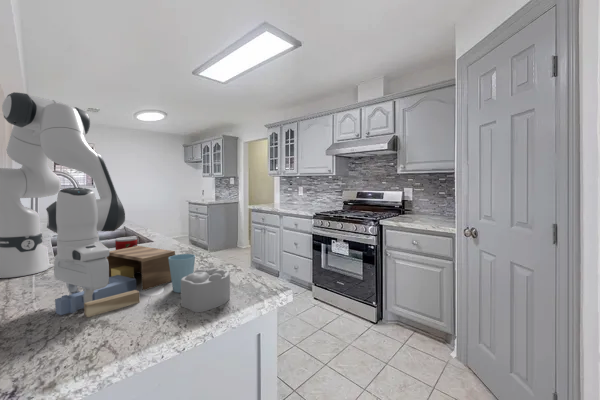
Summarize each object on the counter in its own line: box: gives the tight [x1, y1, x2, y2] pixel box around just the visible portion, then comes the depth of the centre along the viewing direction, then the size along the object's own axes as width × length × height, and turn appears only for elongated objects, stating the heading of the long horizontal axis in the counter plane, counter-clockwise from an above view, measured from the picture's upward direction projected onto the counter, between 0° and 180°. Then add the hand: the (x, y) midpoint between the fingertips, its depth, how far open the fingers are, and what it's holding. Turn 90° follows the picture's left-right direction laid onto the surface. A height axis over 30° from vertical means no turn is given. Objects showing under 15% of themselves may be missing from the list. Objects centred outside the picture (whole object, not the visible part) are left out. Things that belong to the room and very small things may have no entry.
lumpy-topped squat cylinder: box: [180, 267, 231, 313], centre depth 80 cm, size 10×13×9 cm
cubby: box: [106, 245, 176, 291], centre depth 98 cm, size 20×12×10 cm, turn 62°
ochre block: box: [111, 265, 135, 279], centre depth 98 cm, size 6×4×4 cm
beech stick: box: [83, 289, 140, 318], centre depth 76 cm, size 3×12×3 cm, turn 140°
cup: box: [168, 253, 196, 294], centre depth 89 cm, size 8×8×10 cm
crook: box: [54, 275, 137, 316], centre depth 82 cm, size 10×19×4 cm, turn 152°
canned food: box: [114, 236, 138, 250], centre depth 119 cm, size 8×8×11 cm
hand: (80, 300), depth 77 cm, fingers open, 5 cm apart
